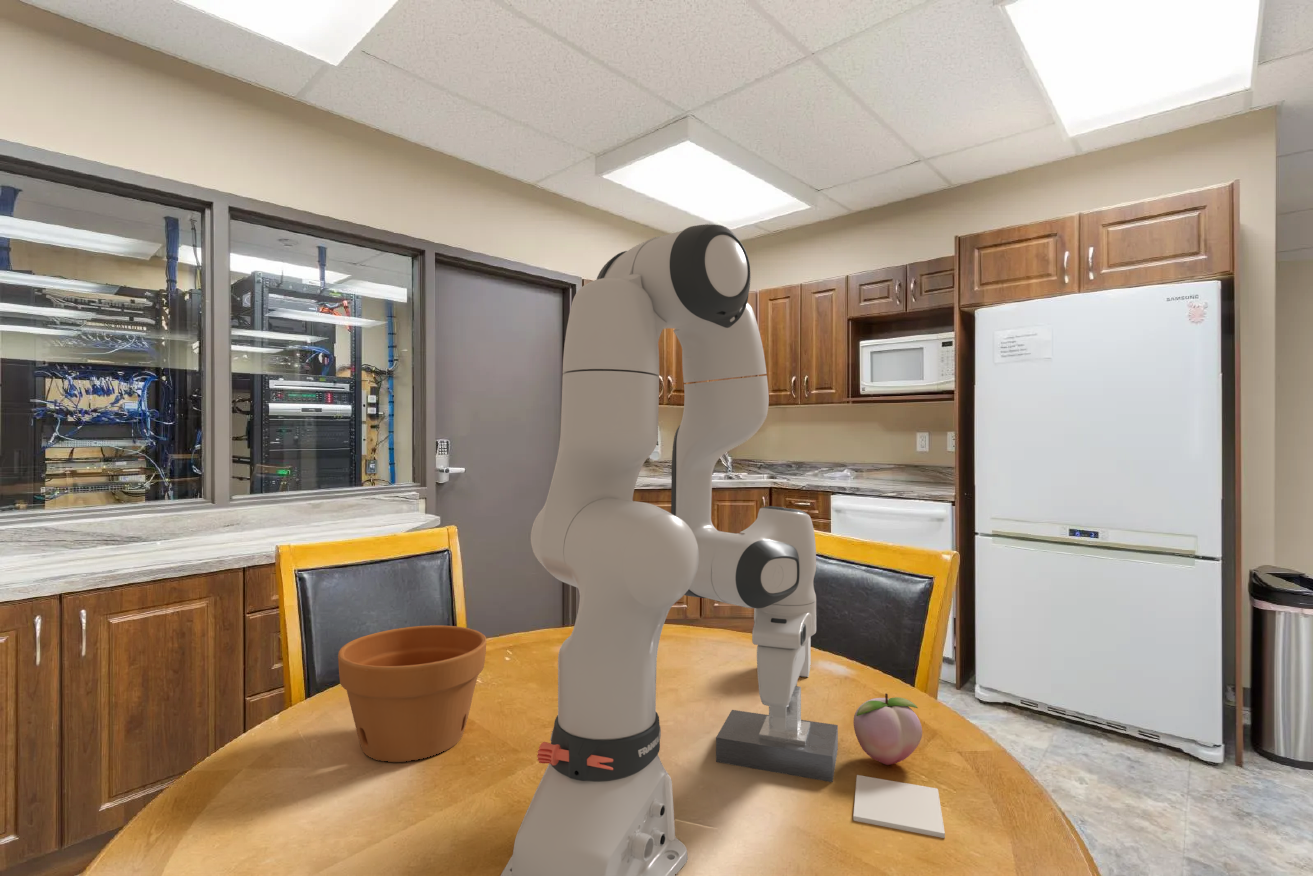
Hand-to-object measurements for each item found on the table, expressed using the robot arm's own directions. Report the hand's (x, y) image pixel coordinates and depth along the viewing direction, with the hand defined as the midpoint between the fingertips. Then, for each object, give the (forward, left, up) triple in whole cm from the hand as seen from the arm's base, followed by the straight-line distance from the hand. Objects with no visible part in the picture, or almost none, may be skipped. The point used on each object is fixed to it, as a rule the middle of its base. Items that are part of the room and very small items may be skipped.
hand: (785, 714), depth 91 cm
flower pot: (-14, +54, -6) cm, 56 cm away
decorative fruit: (+3, -14, -6) cm, 15 cm away
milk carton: (+36, +4, -6) cm, 37 cm away
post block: (0, +1, -6) cm, 6 cm away
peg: (0, 0, -6) cm, 6 cm away
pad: (-8, -15, -6) cm, 18 cm away
